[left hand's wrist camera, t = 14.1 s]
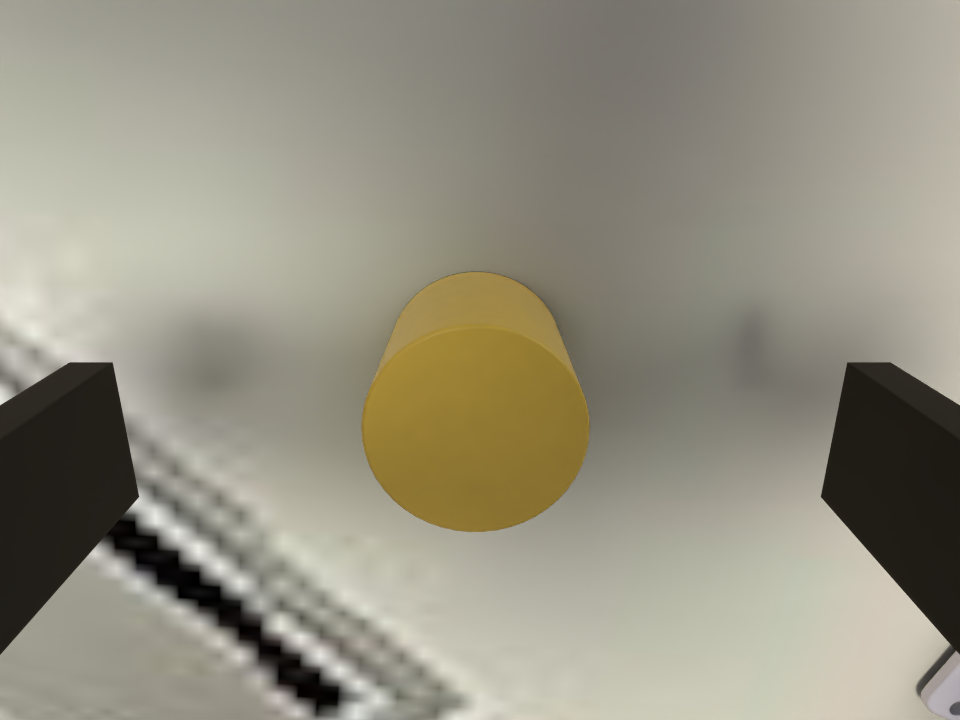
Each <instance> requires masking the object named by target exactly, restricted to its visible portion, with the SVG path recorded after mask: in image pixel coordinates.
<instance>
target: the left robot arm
mask: <svg viewBox="0 0 960 720" xmlns="http://www.w3.org/2000/svg"><path fill="white" fill-rule="evenodd" d="M138 497H139V494H138V489H137V484H136V479H135V474H134V469H133V464H132V458H131V453H130V448H129V443H128V438H127V433H126V428H125V423H124V418H123V413H122V408H121V403H120V398H119V392H118V387H117V382H116V377H115V372H114V367H113V363H68V364H67V365H65V366H63V367H62V368H60V369H58V370H57V371H55V372H54V373H52V374H50V375H49V376H47V377H45V378H44V379H42V380H41V381H39V382H37V383H36V384H34V385H32V386H31V387H29V388H28V389H26V390H24V391H23V392H21V393H20V394H18V395H16V396H15V397H13V398H11V399H10V400H8V401H7V402H5V403H3V404H2V405H0V654H1V653H2V652H3V651H4V650H5V649H6V648H7V646H8V645H9V644H10V643H11V642H12V641H13V640H14V638H15V637H16V636H17V635H18V634H19V633H20V632H21V631H22V629H23V628H24V627H25V626H26V625H27V624H28V623H29V621H30V620H31V619H32V618H33V617H34V616H35V615H36V613H37V612H38V611H39V610H40V609H41V608H42V607H43V606H44V604H45V603H46V602H47V601H48V600H49V599H50V598H51V596H52V595H53V594H54V593H55V592H56V591H57V590H58V588H59V587H60V586H61V585H62V584H63V583H64V582H65V580H66V579H67V578H68V577H69V576H70V575H71V574H72V573H73V571H74V570H75V569H76V568H77V567H78V566H79V565H80V563H81V562H82V561H83V560H84V559H85V558H86V557H87V555H88V554H89V553H90V552H91V551H92V550H93V549H94V548H95V546H96V545H97V544H98V543H99V542H100V541H101V540H102V538H103V537H104V536H105V535H106V534H107V533H108V532H109V530H110V529H111V528H112V527H113V526H114V525H115V524H116V523H117V521H118V520H119V519H120V518H121V517H122V516H123V515H124V513H125V512H126V511H127V510H128V509H129V508H130V507H131V505H132V504H133V503H134V502H135V501H136V500H137V499H138ZM821 497H822V499H823V500H824V501H825V502H826V503H827V504H828V505H829V507H830V508H831V509H832V510H833V511H834V512H835V513H836V515H837V516H838V517H839V518H840V519H841V520H842V521H843V523H844V524H845V525H846V526H847V527H848V528H849V529H850V530H851V532H852V533H853V534H854V535H855V536H856V537H857V538H858V540H859V541H860V542H861V543H862V544H863V545H864V546H865V548H866V549H867V550H868V551H869V552H870V553H871V554H872V555H873V557H874V558H875V559H876V560H877V561H878V562H879V563H880V565H881V566H882V567H883V568H884V569H885V570H886V571H887V573H888V574H889V575H890V576H891V577H892V578H893V579H894V580H895V582H896V583H897V584H898V585H899V586H900V587H901V588H902V590H903V591H904V592H905V593H906V594H907V595H908V596H909V598H910V599H911V600H912V601H913V602H914V603H915V604H916V606H917V607H918V608H919V609H920V610H921V611H922V612H923V613H924V615H925V616H926V617H927V618H928V619H929V620H930V621H931V623H932V624H933V625H934V626H935V627H936V628H937V629H938V631H939V632H940V633H941V634H942V635H943V636H944V637H945V638H946V640H947V641H948V642H949V643H950V644H951V645H952V646H953V648H954V649H955V650H956V651H957V652H958V653H959V654H960V405H958V404H957V403H955V402H953V401H952V400H950V399H949V398H947V397H945V396H944V395H942V394H940V393H939V392H937V391H936V390H934V389H932V388H931V387H929V386H928V385H926V384H924V383H923V382H921V381H919V380H918V379H916V378H915V377H913V376H911V375H910V374H908V373H906V372H905V371H903V370H902V369H900V368H898V367H897V366H895V365H893V364H892V363H847V367H846V372H845V377H844V382H843V387H842V392H841V398H840V403H839V408H838V413H837V418H836V423H835V428H834V433H833V438H832V443H831V448H830V453H829V458H828V464H827V469H826V474H825V479H824V484H823V489H822V494H821Z"/></svg>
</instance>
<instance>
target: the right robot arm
mask: <svg viewBox="0 0 960 720" xmlns="http://www.w3.org/2000/svg"><path fill="white" fill-rule="evenodd" d="M921 700H922V702H923V703H924V704H925V706H926V707H927V708H928V710H929V711H931V712H932V713H934V714H936V715H939V716H941V717H943V718H946V719H948V720H960V654H959V653H958V652H957V651H955V653H954V654H953V655H952V656H951V657H950V658H949V659H948V661H947V662H946V663H945V664H944V665H943V666H942V667H941V669H940V670H939V671H938V672H937V673H936V674H935V675H934V677H933V678H932V679H931V680H930V681H929V682H928V683H927V685H926V686H925V687H924V688H923V690H922V692H921Z"/></svg>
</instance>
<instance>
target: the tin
mask: <svg viewBox="0 0 960 720" xmlns="http://www.w3.org/2000/svg"><path fill="white" fill-rule="evenodd" d="M361 428H362V441H363V446H364V451H365V455H366V457H367V460H368V463H369V466H370V468H371V470H372V472H373V474H374V475H375V477H376V479H377V480H378V482H379V483H380V485H381V486H382V487H383V489H384V490H385V491H386V492H387V493H388V495H389V496H390V497H391V498H392V499H393V500H394V501H395V502H397V503H398V504H399V505H400V506H401V507H402V508H404V509H405V510H407V511H408V512H410V513H411V514H413V515H414V516H416V517H418V518H420V519H422V520H424V521H426V522H428V523H431V524H434V525H437V526H439V527H443V528H447V529H452V530H457V531H466V532H485V531H494V530H500V529H504V528H508V527H512V526H515V525H517V524H520V523H523V522H525V521H527V520H529V519H531V518H533V517H535V516H537V515H538V514H540V513H542V512H543V511H545V510H546V509H548V508H549V507H550V506H551V505H552V504H554V503H555V502H556V501H557V500H558V499H559V498H560V497H561V496H562V495H563V494H564V493H565V491H566V490H567V489H568V488H569V486H570V485H571V483H572V482H573V481H574V479H575V478H576V476H577V474H578V472H579V470H580V468H581V466H582V464H583V461H584V458H585V455H586V452H587V447H588V442H589V431H590V423H589V412H588V408H587V404H586V399H585V397H584V394H583V391H582V389H581V386H580V384H579V381H578V379H577V376H576V374H575V371H574V369H573V366H572V363H571V361H570V358H569V356H568V353H567V351H566V348H565V346H564V343H563V341H562V338H561V335H560V333H559V330H558V328H557V325H556V323H555V320H554V318H553V317H552V315H551V313H550V311H549V310H548V308H547V307H546V306H545V304H544V303H543V302H542V301H541V300H540V299H539V298H538V297H537V296H536V295H535V294H534V293H533V292H532V291H530V290H529V289H528V288H527V287H525V286H523V285H522V284H520V283H518V282H516V281H515V280H512V279H510V278H507V277H505V276H501V275H497V274H493V273H486V272H466V273H458V274H455V275H451V276H447V277H445V278H442V279H440V280H437V281H435V282H434V283H432V284H430V285H428V286H427V287H425V288H424V289H423V290H421V291H420V292H419V293H418V294H416V295H415V297H414V298H413V299H412V300H411V301H410V302H409V303H408V304H407V306H406V307H405V308H404V310H403V311H402V313H401V315H400V316H399V318H398V320H397V322H396V325H395V327H394V330H393V332H392V335H391V337H390V340H389V342H388V345H387V347H386V350H385V352H384V355H383V357H382V359H381V362H380V364H379V367H378V369H377V372H376V374H375V377H374V379H373V382H372V384H371V387H370V389H369V392H368V394H367V397H366V400H365V404H364V409H363V413H362V425H361Z"/></svg>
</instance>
